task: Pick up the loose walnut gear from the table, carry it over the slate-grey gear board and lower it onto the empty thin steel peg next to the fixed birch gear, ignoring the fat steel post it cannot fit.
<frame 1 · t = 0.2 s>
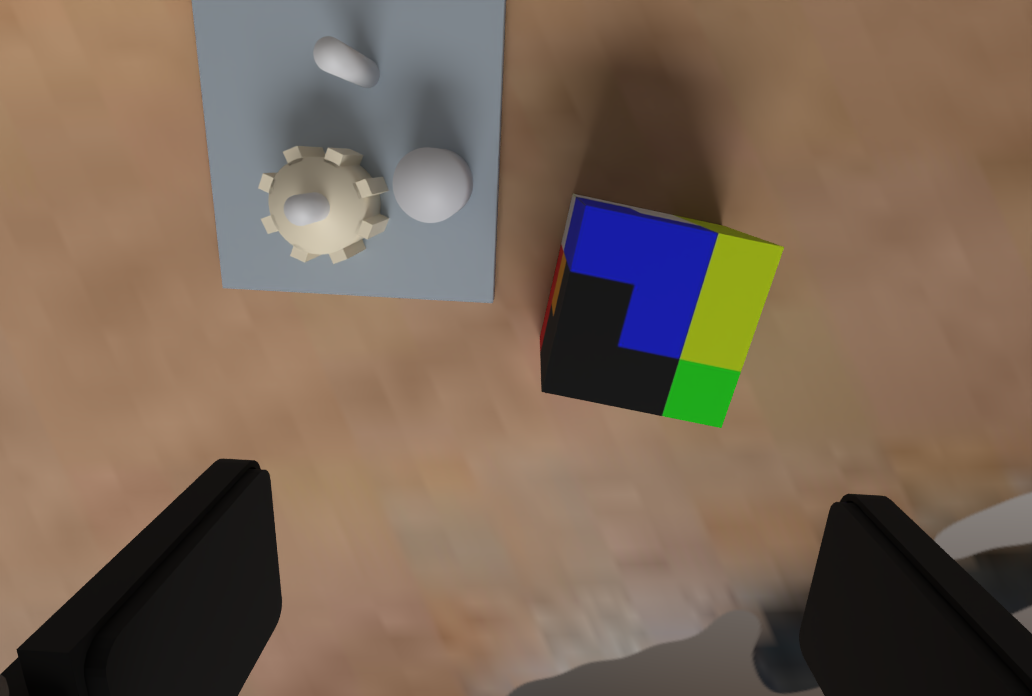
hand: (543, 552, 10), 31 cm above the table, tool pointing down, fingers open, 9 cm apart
gear board: (359, 144, 37), on the table
puzzle toy: (627, 282, 40), on the table
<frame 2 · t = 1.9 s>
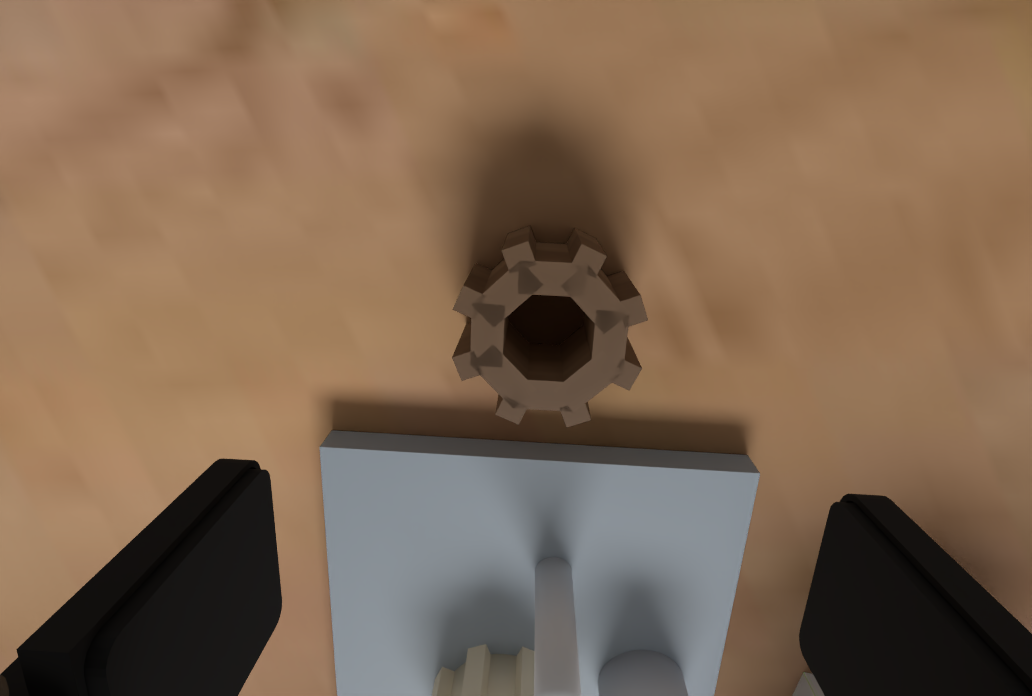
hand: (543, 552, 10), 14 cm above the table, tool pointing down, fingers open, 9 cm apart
gear board: (526, 617, 28), on the table
walnut gear: (546, 308, 23), on the table
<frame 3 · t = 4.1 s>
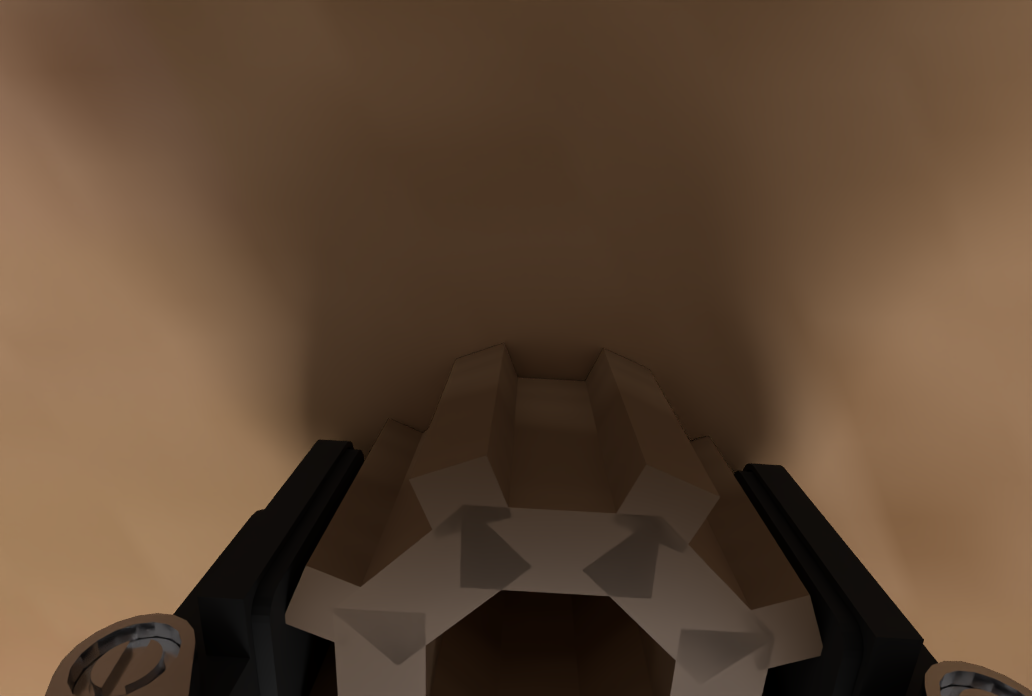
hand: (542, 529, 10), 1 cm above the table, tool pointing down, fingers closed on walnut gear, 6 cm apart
walnut gear: (542, 508, 11), on the table, touching gripper
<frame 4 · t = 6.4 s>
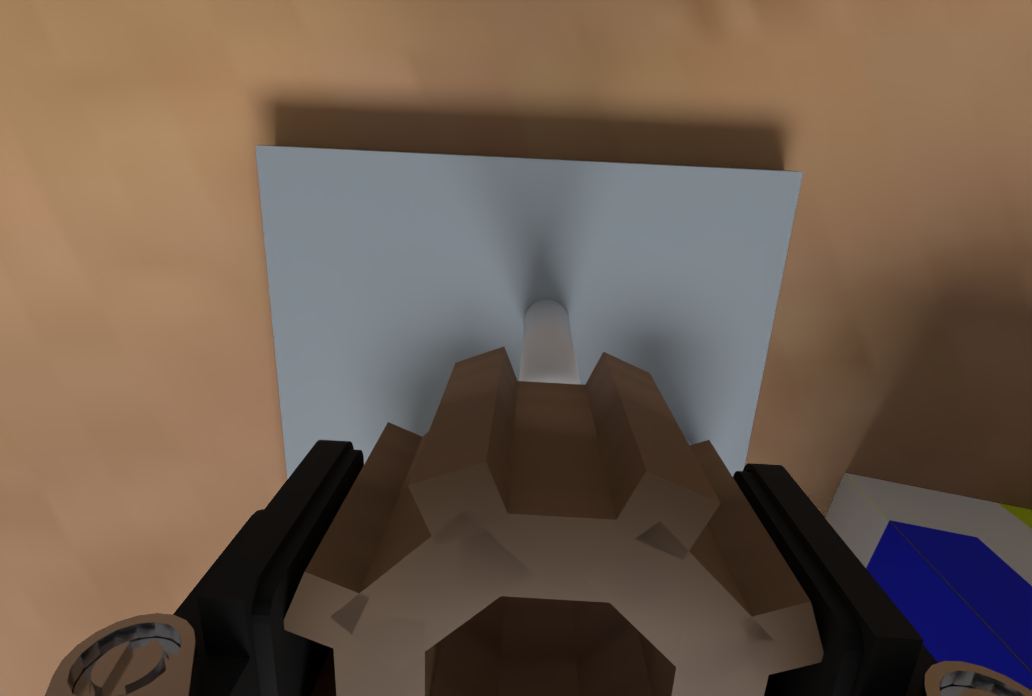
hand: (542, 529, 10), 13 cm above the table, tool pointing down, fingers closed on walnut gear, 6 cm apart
gear board: (515, 403, 24), on the table
puzzle toy: (906, 585, 26), on the table
walnut gear: (542, 511, 11), point 12 cm above the table, touching gripper
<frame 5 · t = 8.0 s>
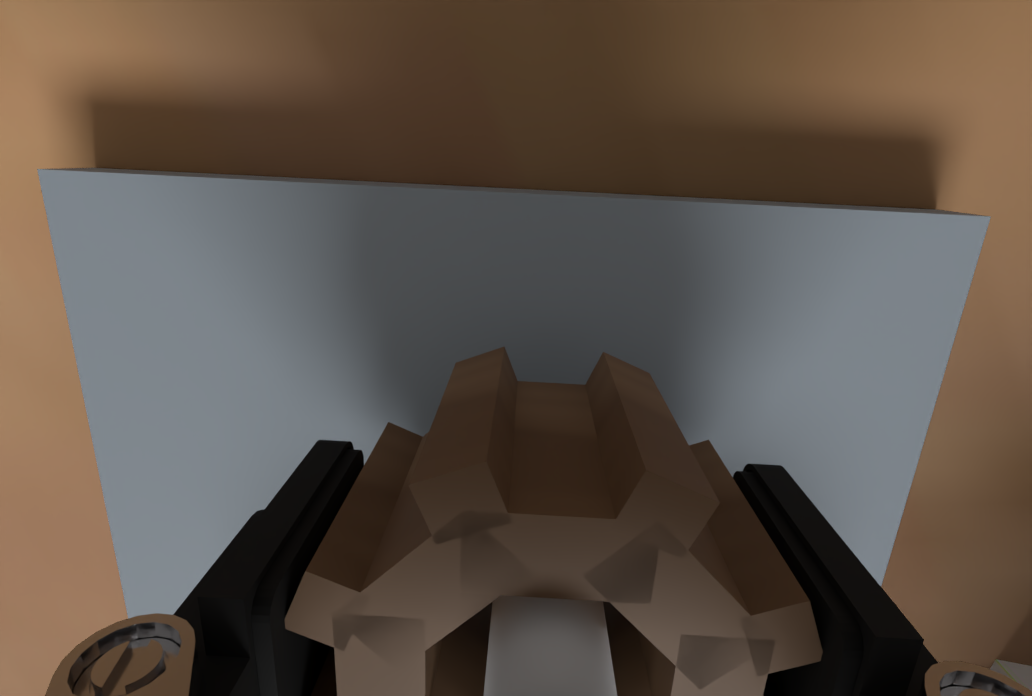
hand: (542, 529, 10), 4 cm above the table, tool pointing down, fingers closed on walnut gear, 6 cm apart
gear board: (495, 560, 15), on the table
walnut gear: (542, 511, 11), point 3 cm above the table, touching gripper
when the fingers open (3 cm above the table, at t = 9.0 s): walnut gear drops 1 cm, resting on gear board.
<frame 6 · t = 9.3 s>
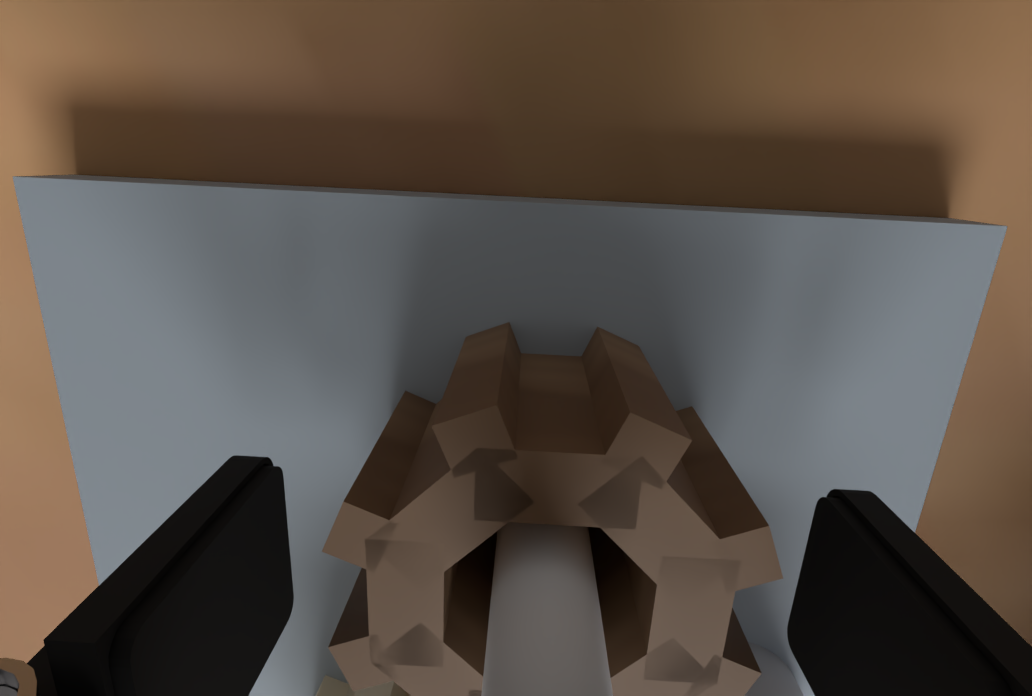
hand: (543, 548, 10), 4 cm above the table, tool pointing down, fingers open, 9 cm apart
gear board: (492, 579, 15), on the table
walnut gear: (543, 472, 12), point 1 cm above the table, touching gear board
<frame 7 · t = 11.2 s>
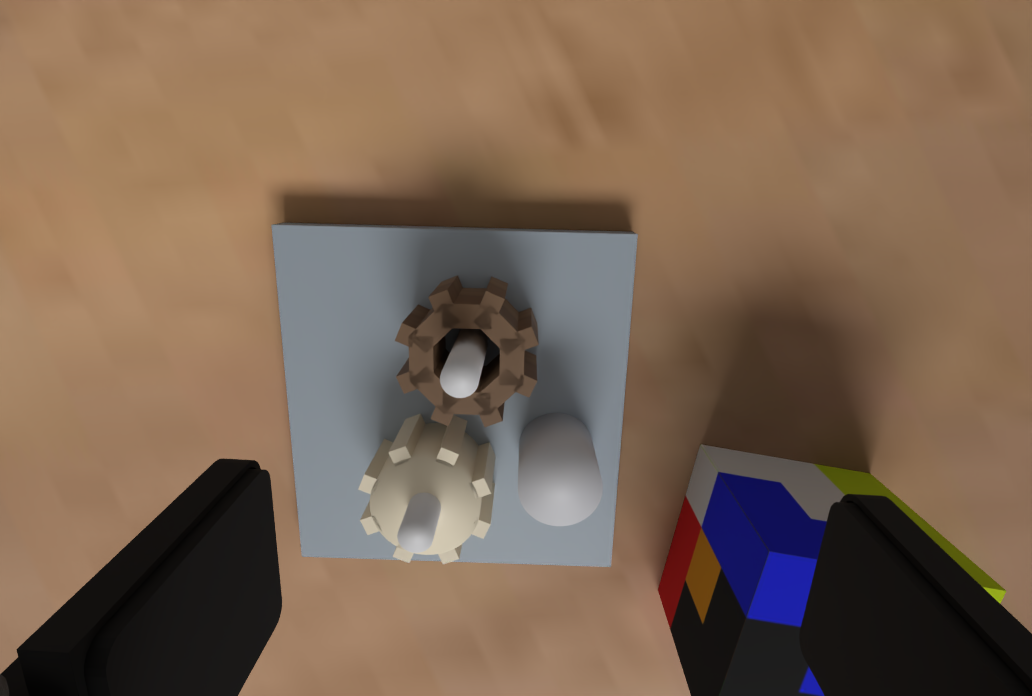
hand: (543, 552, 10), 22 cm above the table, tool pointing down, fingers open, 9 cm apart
gear board: (458, 399, 33), on the table
puzzle toy: (758, 531, 35), on the table
walnut gear: (474, 337, 30), point 1 cm above the table, touching gear board
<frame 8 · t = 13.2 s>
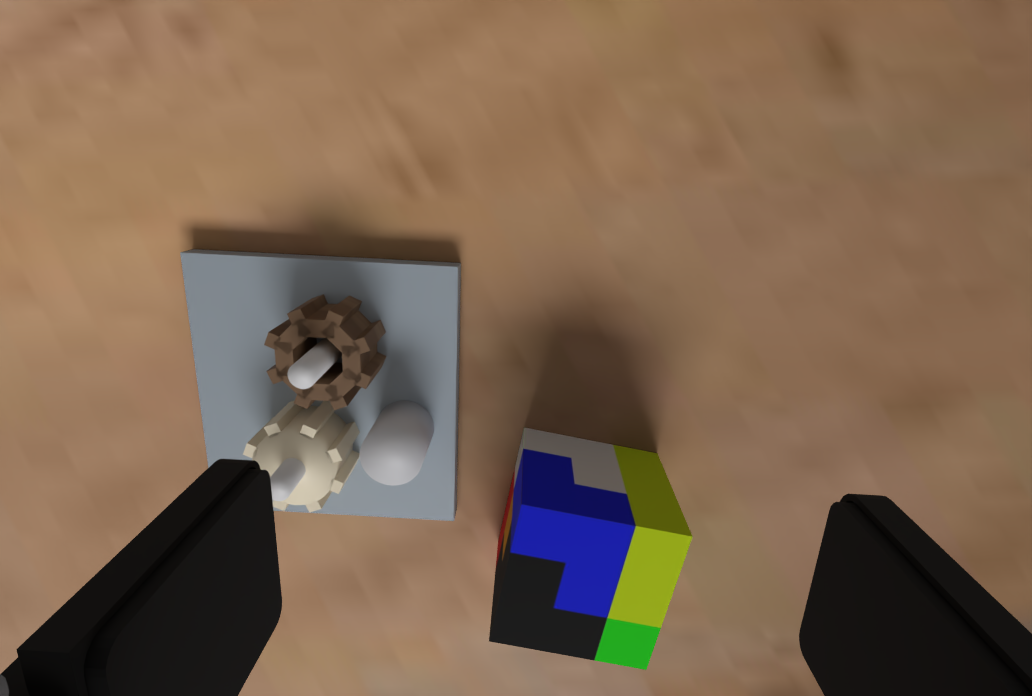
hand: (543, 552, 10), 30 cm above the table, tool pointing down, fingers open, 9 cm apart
gear board: (333, 388, 42), on the table
puzzle toy: (575, 496, 44), on the table
walnut gear: (338, 341, 39), point 1 cm above the table, touching gear board
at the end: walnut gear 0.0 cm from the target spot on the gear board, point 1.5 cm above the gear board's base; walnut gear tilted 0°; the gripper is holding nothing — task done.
